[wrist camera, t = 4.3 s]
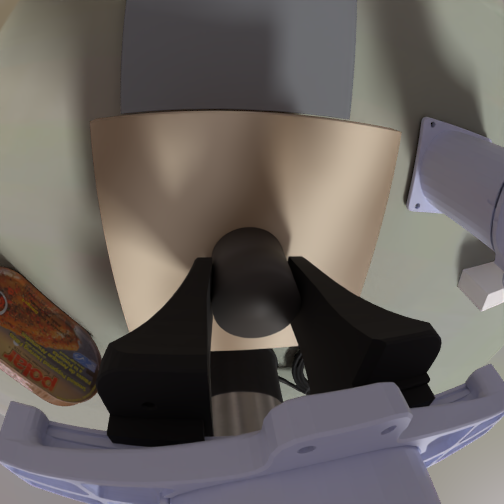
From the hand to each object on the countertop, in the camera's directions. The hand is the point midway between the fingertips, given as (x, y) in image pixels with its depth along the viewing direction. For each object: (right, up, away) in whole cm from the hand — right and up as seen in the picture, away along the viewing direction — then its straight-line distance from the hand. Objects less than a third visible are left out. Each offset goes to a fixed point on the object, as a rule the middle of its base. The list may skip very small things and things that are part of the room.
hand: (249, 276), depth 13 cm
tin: (-19, -4, +11) cm, 23 cm away
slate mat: (0, +17, +1) cm, 17 cm away
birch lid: (0, +1, +1) cm, 2 cm away
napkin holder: (+30, -2, +17) cm, 34 cm away
